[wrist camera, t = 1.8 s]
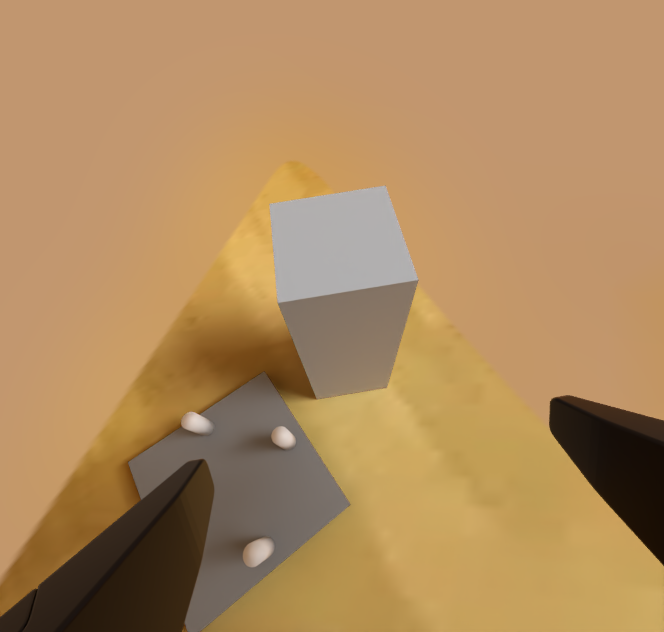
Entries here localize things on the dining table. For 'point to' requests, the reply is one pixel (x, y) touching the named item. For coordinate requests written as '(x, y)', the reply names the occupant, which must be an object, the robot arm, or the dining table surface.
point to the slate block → (343, 286)
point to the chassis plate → (246, 490)
